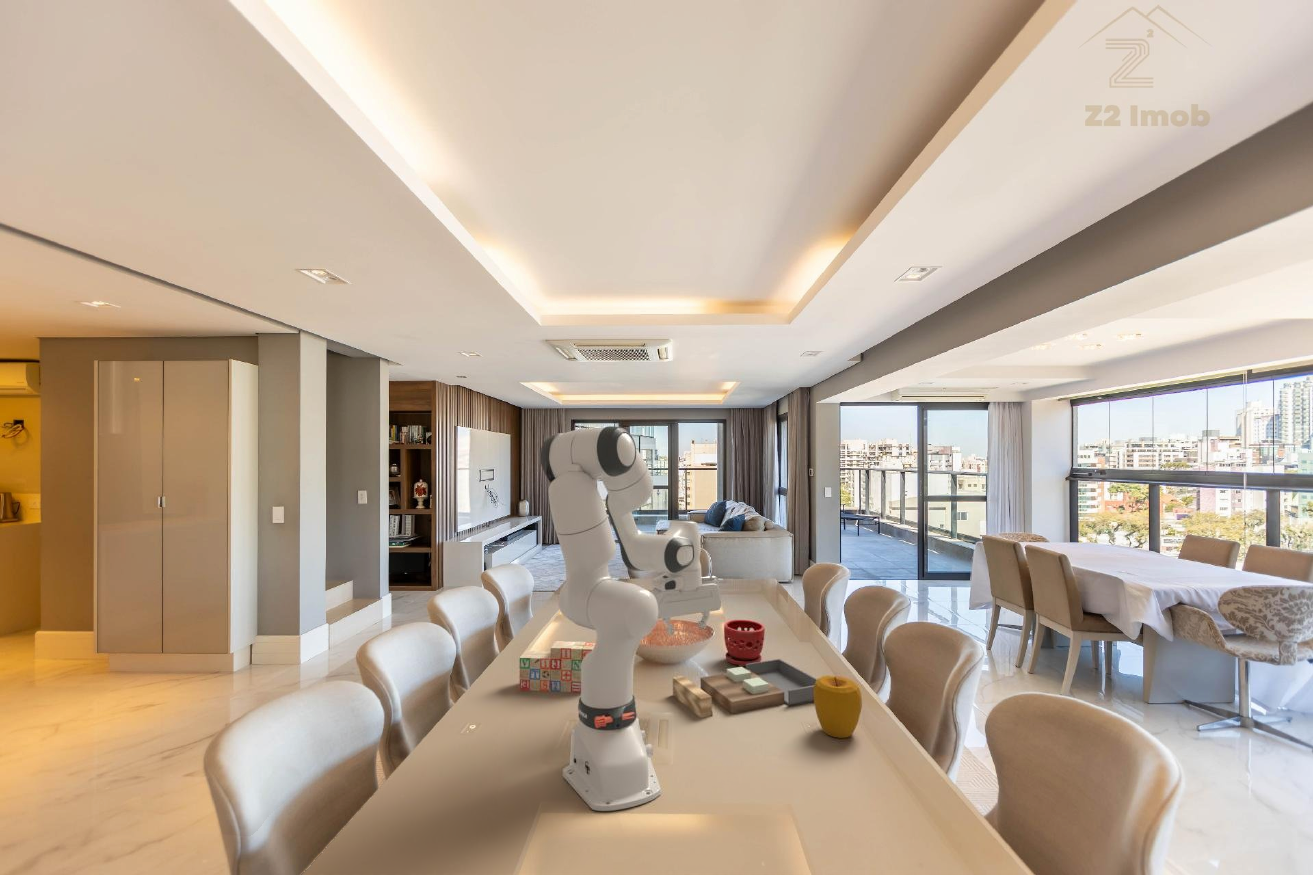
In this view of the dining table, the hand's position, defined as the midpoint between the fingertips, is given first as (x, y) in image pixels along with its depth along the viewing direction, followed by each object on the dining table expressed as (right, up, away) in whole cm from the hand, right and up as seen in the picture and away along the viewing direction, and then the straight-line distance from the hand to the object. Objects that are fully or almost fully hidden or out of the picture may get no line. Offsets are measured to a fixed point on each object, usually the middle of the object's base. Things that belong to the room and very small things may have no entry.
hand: (686, 630), depth 149 cm
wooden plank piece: (+1, -19, -2) cm, 20 cm away
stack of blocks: (-37, -21, +11) cm, 43 cm away
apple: (+35, -18, -18) cm, 43 cm away
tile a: (+19, -16, +1) cm, 25 cm away
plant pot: (+21, -21, +31) cm, 43 cm away
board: (+15, -19, +4) cm, 25 cm away
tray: (+29, -20, +9) cm, 36 cm away
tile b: (+15, -17, +9) cm, 25 cm away
